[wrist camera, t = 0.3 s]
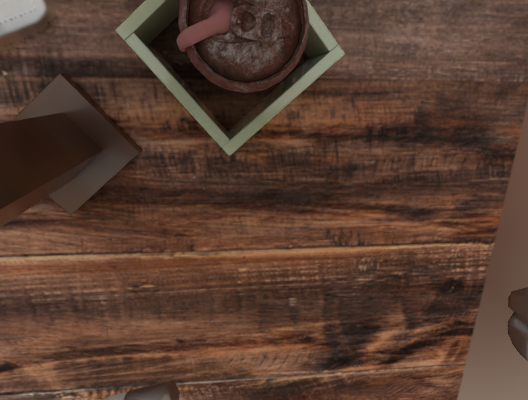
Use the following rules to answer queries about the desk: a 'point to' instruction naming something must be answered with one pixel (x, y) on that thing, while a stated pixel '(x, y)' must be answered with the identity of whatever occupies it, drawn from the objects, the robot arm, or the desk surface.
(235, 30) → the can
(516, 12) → the desk surface
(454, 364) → the desk surface
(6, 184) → the post
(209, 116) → the holder
